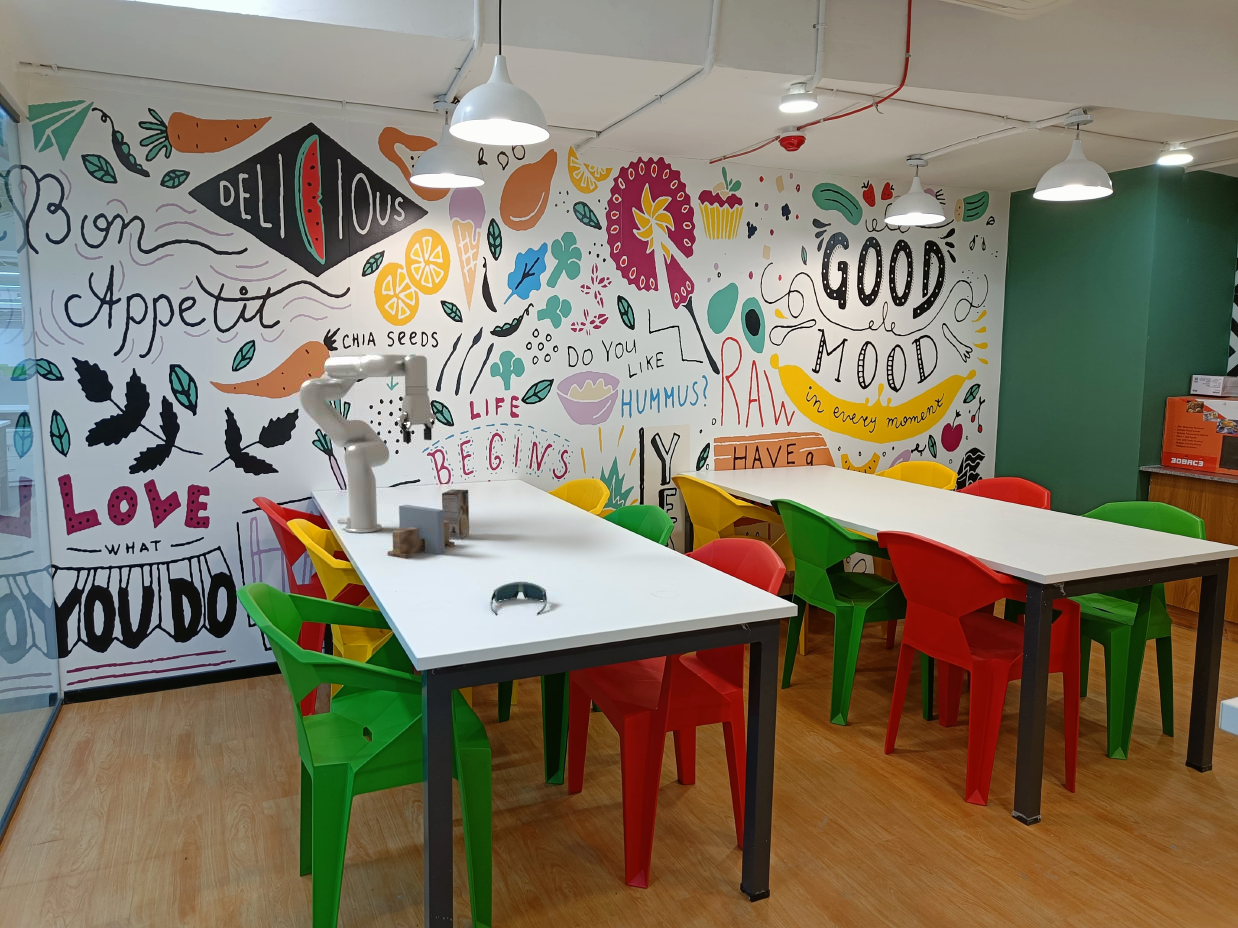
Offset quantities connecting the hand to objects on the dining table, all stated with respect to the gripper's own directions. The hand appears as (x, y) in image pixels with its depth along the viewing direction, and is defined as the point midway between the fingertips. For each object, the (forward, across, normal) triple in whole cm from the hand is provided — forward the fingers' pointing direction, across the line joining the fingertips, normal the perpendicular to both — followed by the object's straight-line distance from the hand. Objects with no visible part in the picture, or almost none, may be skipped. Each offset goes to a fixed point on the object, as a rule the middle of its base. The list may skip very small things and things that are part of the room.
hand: (417, 441), depth 296 cm
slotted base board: (+33, +16, +17) cm, 41 cm away
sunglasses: (+34, +47, +83) cm, 101 cm away
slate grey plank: (+33, +16, +17) cm, 41 cm away
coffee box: (+34, -6, +12) cm, 36 cm away
